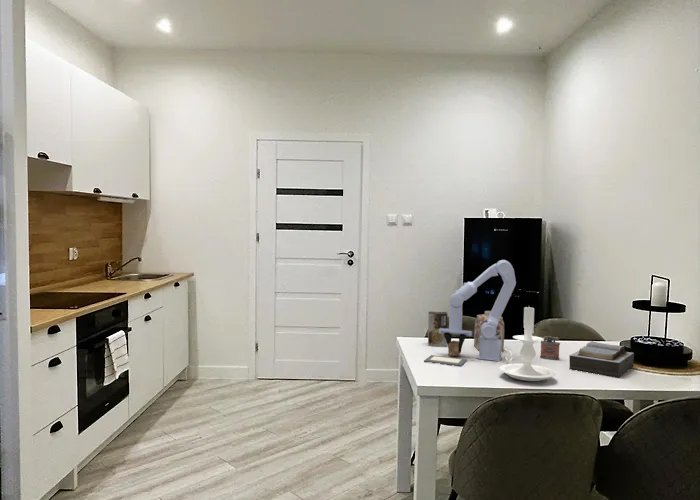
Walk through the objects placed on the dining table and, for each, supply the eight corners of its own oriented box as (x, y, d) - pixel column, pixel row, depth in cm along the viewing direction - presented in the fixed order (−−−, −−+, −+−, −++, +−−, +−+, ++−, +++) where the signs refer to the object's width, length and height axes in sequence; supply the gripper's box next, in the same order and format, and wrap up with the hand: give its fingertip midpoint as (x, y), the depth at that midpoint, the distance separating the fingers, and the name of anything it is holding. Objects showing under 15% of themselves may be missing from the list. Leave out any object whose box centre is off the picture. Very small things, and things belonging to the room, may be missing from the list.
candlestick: (524, 367, 225) (526, 300, 224) (567, 383, 202) (570, 308, 201) (482, 370, 218) (484, 301, 217) (522, 388, 195) (524, 310, 194)
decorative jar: (503, 352, 253) (505, 313, 253) (478, 351, 254) (480, 313, 253) (497, 346, 265) (498, 310, 265) (473, 346, 265) (474, 309, 265)
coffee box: (446, 344, 268) (447, 311, 268) (447, 346, 262) (448, 313, 261) (427, 343, 269) (428, 311, 269) (428, 346, 263) (429, 312, 262)
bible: (645, 370, 226) (646, 347, 225) (614, 380, 209) (615, 355, 208) (590, 359, 244) (591, 337, 243) (558, 367, 227) (559, 344, 227)
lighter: (539, 358, 242) (540, 336, 242) (540, 356, 245) (541, 334, 245) (558, 360, 238) (559, 338, 238) (559, 359, 241) (560, 336, 241)
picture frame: (467, 360, 235) (467, 358, 234) (461, 366, 224) (461, 364, 224) (431, 356, 241) (431, 354, 241) (423, 362, 230) (423, 360, 230)
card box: (461, 352, 246) (461, 341, 245) (457, 356, 238) (457, 344, 238) (452, 351, 247) (452, 340, 247) (448, 355, 240) (448, 343, 240)
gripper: (437, 320, 242) (436, 350, 242) (470, 323, 236) (469, 354, 236) (441, 317, 248) (440, 347, 248) (473, 320, 242) (472, 350, 243)
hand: (454, 350), depth 243 cm, fingers closed on card box, 4 cm apart
